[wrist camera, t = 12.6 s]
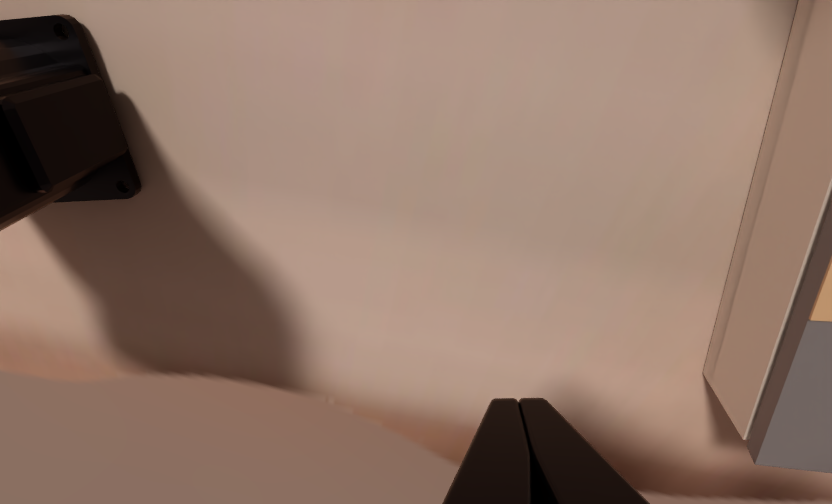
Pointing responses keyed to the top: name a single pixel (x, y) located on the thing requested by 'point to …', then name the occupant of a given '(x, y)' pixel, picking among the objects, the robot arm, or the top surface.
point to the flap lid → (802, 378)
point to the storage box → (777, 222)
